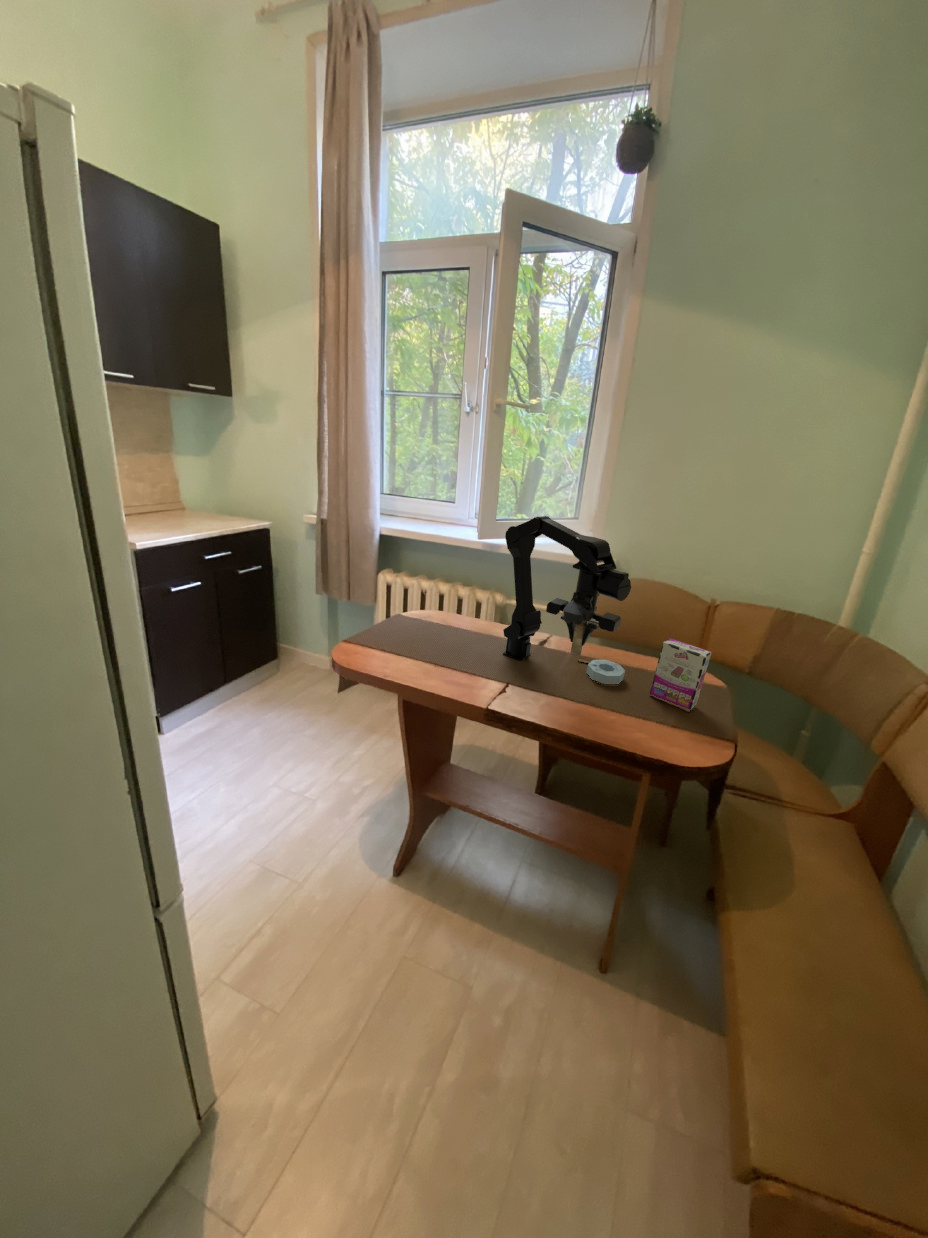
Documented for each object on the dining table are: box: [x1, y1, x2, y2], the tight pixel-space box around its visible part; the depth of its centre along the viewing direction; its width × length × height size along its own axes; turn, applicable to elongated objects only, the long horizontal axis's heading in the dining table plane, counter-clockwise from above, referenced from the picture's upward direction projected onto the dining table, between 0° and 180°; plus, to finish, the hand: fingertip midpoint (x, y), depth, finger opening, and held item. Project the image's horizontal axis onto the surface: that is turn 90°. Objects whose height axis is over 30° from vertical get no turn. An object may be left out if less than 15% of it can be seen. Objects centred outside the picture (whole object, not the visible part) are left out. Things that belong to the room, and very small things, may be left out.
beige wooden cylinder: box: [569, 621, 588, 657], centre depth 129 cm, size 3×3×10 cm
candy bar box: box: [649, 637, 712, 711], centre depth 127 cm, size 11×5×16 cm, turn 47°
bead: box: [585, 659, 626, 685], centre depth 139 cm, size 10×10×3 cm
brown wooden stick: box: [577, 658, 591, 665], centre depth 146 cm, size 12×1×1 cm, turn 67°
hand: (577, 643), depth 130 cm, fingers closed on beige wooden cylinder, 3 cm apart
